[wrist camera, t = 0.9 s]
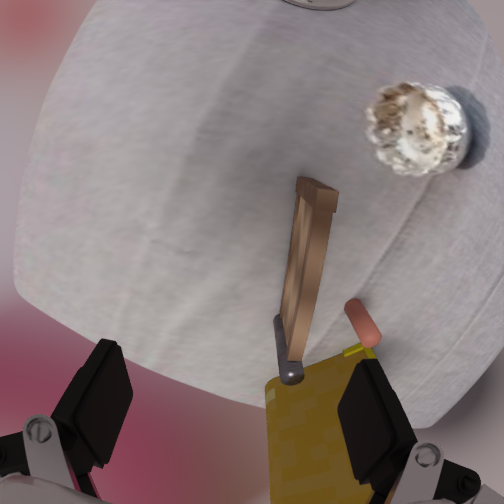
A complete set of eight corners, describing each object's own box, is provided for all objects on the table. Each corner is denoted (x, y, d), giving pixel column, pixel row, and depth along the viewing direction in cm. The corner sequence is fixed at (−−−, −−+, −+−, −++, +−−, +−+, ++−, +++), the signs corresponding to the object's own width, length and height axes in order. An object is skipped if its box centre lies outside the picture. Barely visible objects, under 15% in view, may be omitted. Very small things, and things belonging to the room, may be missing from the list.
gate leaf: (297, 176, 28) (318, 188, 19) (312, 178, 28) (339, 191, 19) (278, 311, 33) (286, 363, 25) (291, 312, 33) (303, 363, 25)
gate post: (274, 312, 34) (282, 369, 25) (293, 313, 34) (306, 369, 25) (272, 328, 35) (278, 385, 25) (290, 329, 35) (301, 385, 25)
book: (367, 339, 36) (437, 492, 12) (374, 368, 38) (430, 503, 15) (257, 380, 38) (261, 542, 15) (274, 404, 40) (284, 546, 17)
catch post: (346, 298, 33) (365, 330, 27) (363, 298, 33) (384, 330, 27) (342, 314, 34) (358, 348, 28) (358, 314, 34) (377, 347, 28)
